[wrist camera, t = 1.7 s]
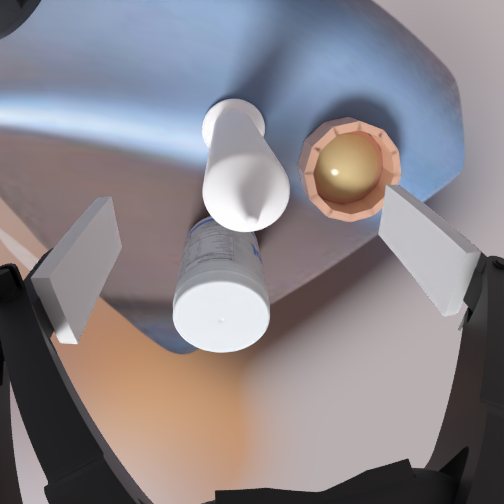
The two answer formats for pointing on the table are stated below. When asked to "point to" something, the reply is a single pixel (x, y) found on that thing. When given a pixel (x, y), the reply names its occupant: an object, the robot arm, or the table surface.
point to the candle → (241, 169)
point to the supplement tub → (221, 289)
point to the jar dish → (348, 168)
